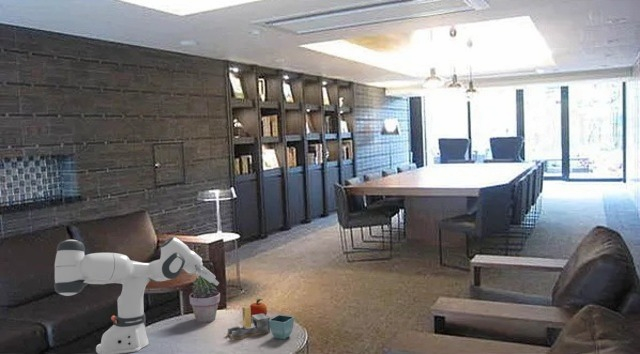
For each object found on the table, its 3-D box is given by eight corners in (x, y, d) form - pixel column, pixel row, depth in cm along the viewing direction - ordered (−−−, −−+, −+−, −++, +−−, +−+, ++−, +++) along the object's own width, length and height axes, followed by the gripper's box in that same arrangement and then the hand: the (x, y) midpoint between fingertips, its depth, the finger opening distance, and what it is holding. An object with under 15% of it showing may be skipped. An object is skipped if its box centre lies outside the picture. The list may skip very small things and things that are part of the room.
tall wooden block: (245, 332, 262) (244, 308, 262) (243, 330, 265) (242, 306, 264) (265, 328, 267) (264, 304, 266) (262, 326, 270) (261, 303, 269)
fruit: (244, 319, 286) (244, 300, 285) (257, 314, 293) (257, 296, 293) (258, 323, 280) (257, 303, 279) (271, 318, 287) (270, 299, 287)
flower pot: (268, 339, 257) (268, 320, 257) (278, 332, 265) (278, 314, 264) (285, 341, 253) (284, 322, 253) (294, 335, 261) (294, 316, 260)
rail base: (233, 339, 257) (232, 324, 256) (227, 334, 264) (227, 319, 263) (270, 332, 266) (269, 317, 265) (263, 327, 273) (263, 313, 272)
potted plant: (206, 328, 274) (204, 278, 272) (180, 321, 285) (178, 273, 284) (232, 318, 288) (231, 271, 286) (207, 312, 300) (205, 266, 298)
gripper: (204, 262, 242) (226, 281, 247) (190, 254, 260) (211, 272, 265) (194, 273, 240) (217, 292, 245) (181, 265, 258) (203, 282, 263)
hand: (214, 281), depth 255 cm, fingers open, 8 cm apart
